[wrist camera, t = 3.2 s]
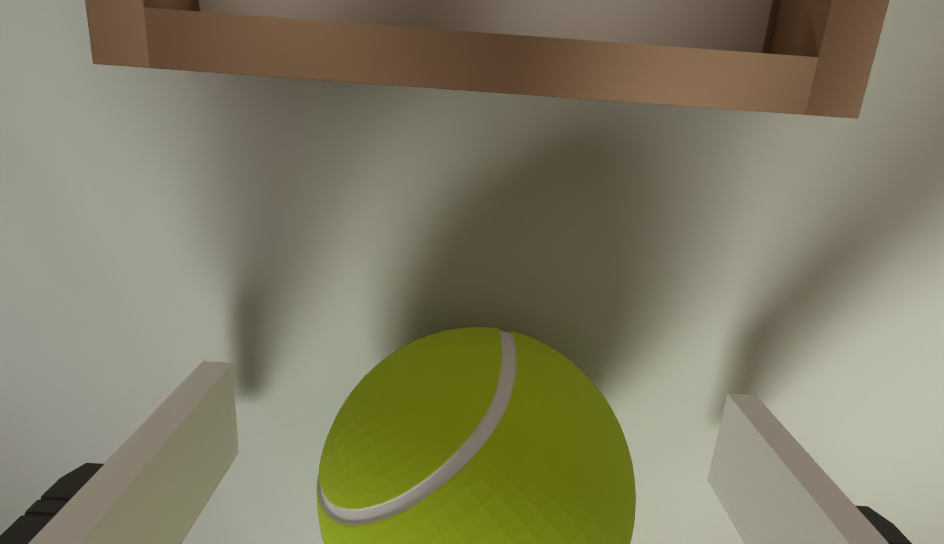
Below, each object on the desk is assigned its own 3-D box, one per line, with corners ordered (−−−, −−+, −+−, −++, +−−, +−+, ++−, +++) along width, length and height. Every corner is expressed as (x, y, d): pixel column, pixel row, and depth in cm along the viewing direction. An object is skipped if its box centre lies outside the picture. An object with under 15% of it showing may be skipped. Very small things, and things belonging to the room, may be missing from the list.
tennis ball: (302, 371, 16) (186, 570, 10) (511, 236, 15) (543, 358, 9) (444, 539, 18) (429, 803, 12) (641, 429, 17) (752, 654, 10)
